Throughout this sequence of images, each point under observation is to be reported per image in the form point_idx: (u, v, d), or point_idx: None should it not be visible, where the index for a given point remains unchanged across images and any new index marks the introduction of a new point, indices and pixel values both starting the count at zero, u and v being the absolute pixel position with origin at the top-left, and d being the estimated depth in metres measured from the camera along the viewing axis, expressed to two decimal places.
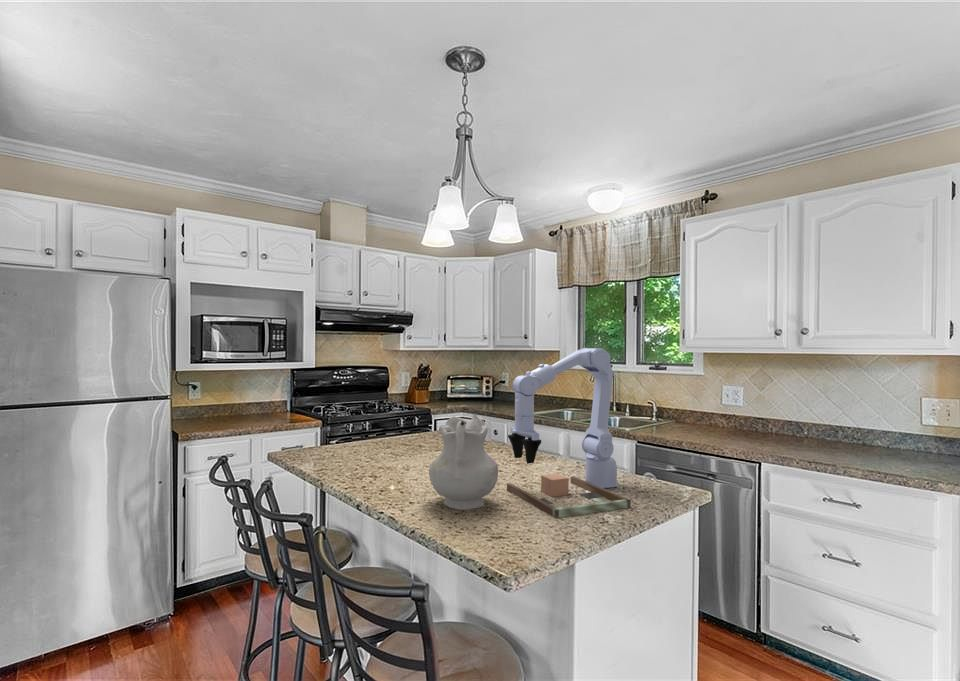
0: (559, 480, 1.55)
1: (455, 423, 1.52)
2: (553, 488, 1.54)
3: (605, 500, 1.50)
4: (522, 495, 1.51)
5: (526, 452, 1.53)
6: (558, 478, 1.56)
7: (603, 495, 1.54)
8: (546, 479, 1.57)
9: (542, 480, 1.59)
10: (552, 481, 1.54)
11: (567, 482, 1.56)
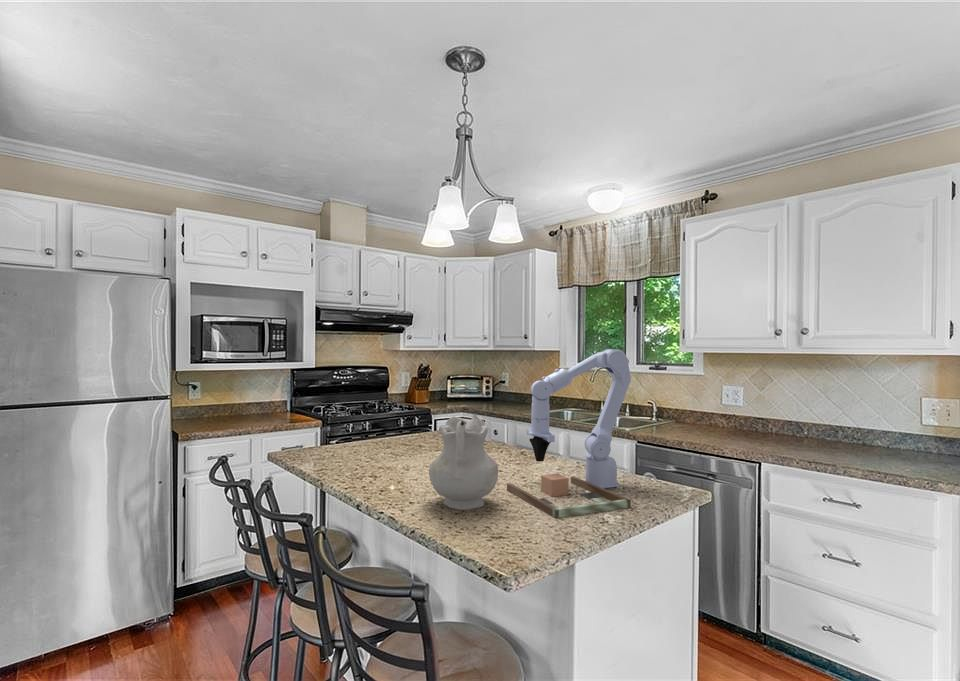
0: (559, 480, 1.55)
1: (455, 423, 1.52)
2: (553, 488, 1.54)
3: (605, 500, 1.50)
4: (522, 495, 1.51)
5: (536, 451, 1.65)
6: (558, 478, 1.56)
7: (603, 495, 1.54)
8: (546, 479, 1.57)
9: (542, 480, 1.59)
10: (552, 481, 1.54)
11: (567, 482, 1.56)
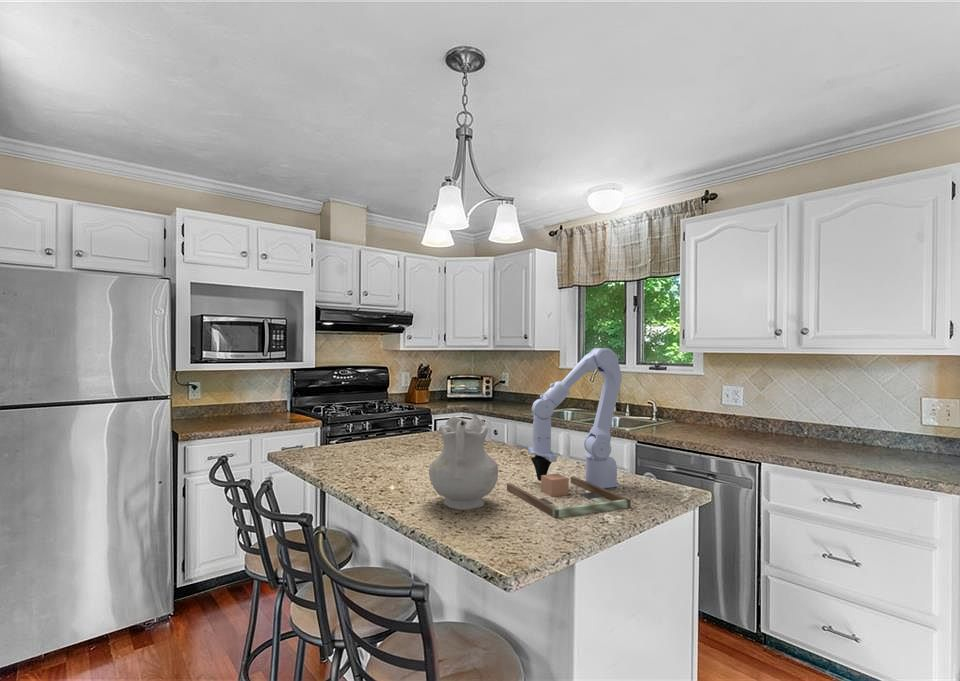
0: (559, 480, 1.55)
1: (455, 423, 1.52)
2: (553, 488, 1.54)
3: (605, 500, 1.50)
4: (522, 495, 1.51)
5: (538, 470, 1.64)
6: (558, 478, 1.56)
7: (603, 495, 1.54)
8: (546, 479, 1.57)
9: (542, 480, 1.59)
10: (552, 481, 1.54)
11: (567, 482, 1.56)
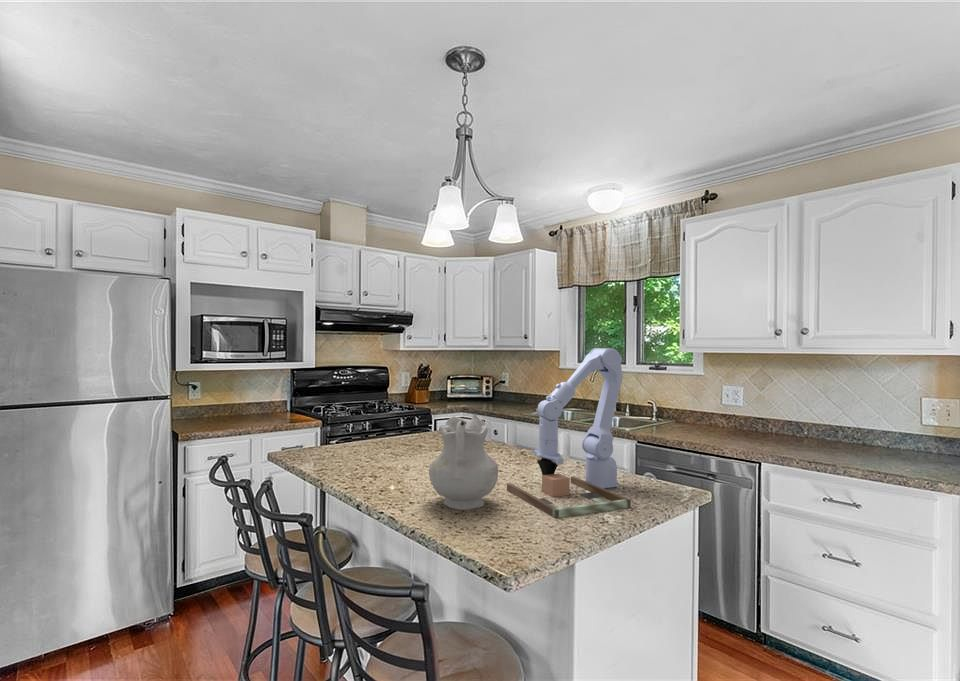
0: (560, 480, 1.55)
1: (455, 423, 1.52)
2: (555, 488, 1.54)
3: (605, 500, 1.50)
4: (522, 495, 1.51)
5: (544, 473, 1.60)
6: (559, 478, 1.56)
7: (603, 495, 1.54)
8: (547, 479, 1.56)
9: (543, 480, 1.58)
10: (553, 481, 1.54)
11: (568, 482, 1.56)
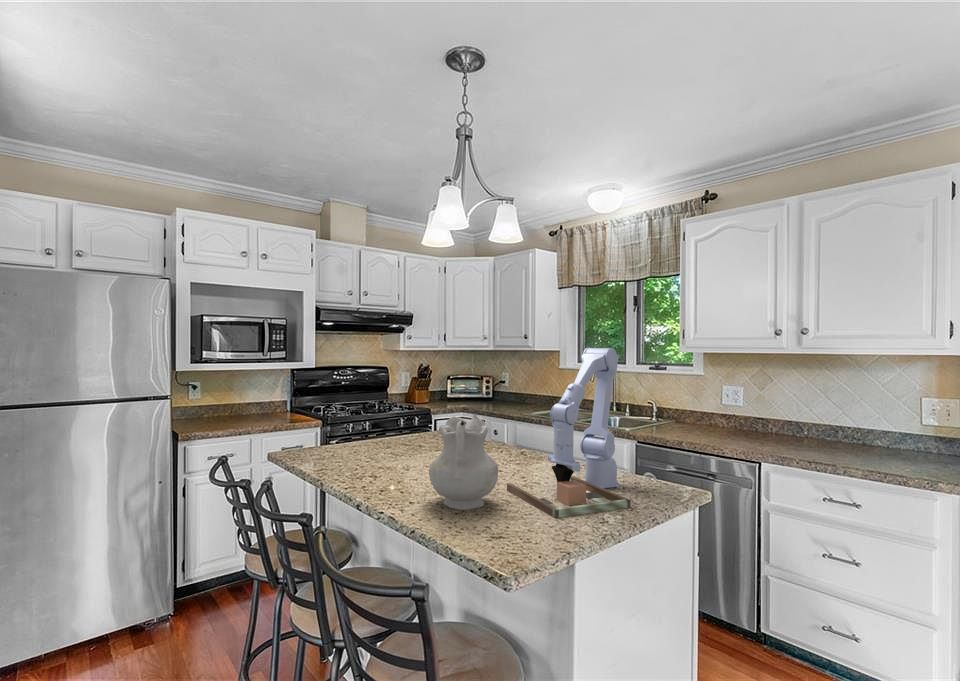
0: (576, 487, 1.47)
1: (455, 423, 1.52)
2: (570, 496, 1.46)
3: (605, 500, 1.50)
4: (522, 495, 1.51)
5: (559, 480, 1.52)
6: (575, 485, 1.48)
7: (603, 495, 1.54)
8: (562, 486, 1.48)
9: (558, 487, 1.50)
10: (569, 489, 1.46)
11: (585, 489, 1.48)
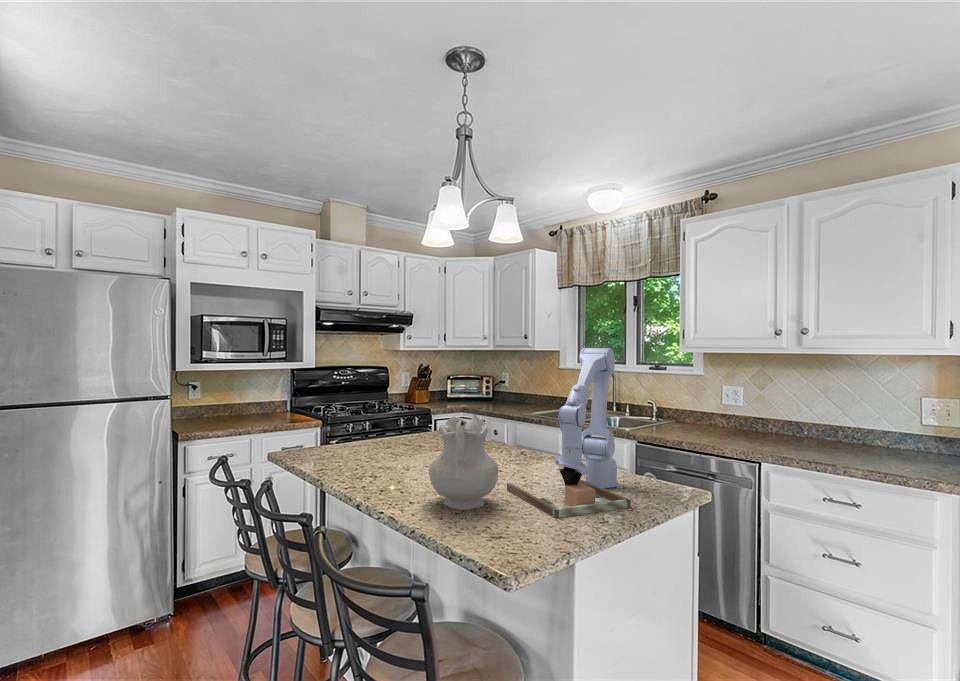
0: (585, 491, 1.43)
1: (455, 423, 1.52)
2: (579, 500, 1.42)
3: (605, 500, 1.50)
4: (522, 495, 1.51)
5: (568, 483, 1.48)
6: (584, 489, 1.44)
7: (603, 495, 1.54)
8: (571, 490, 1.44)
9: (566, 491, 1.46)
10: (578, 493, 1.42)
11: (594, 494, 1.44)
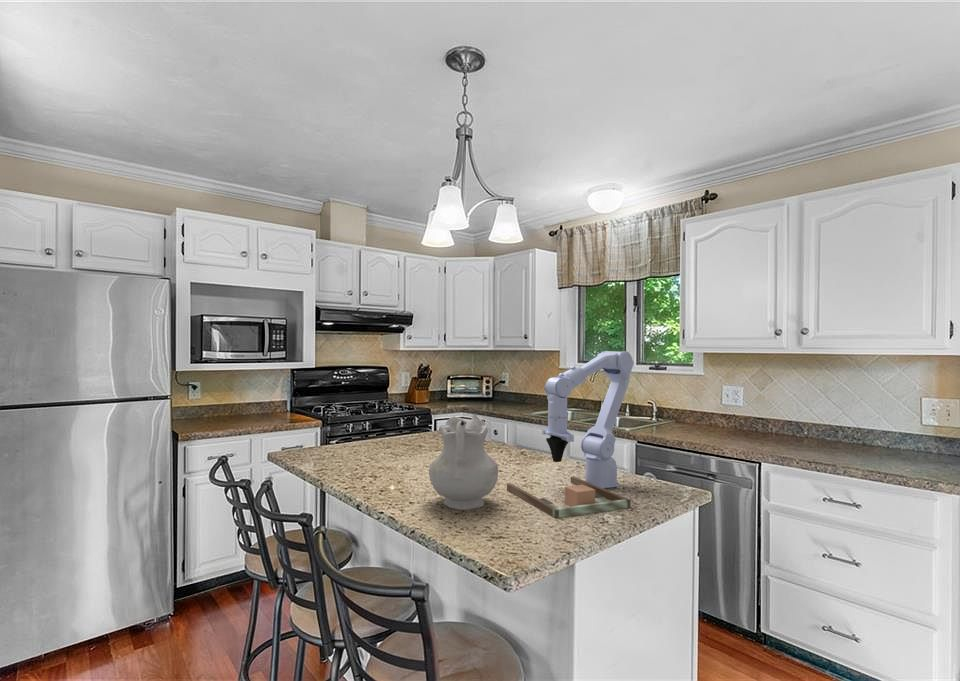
0: (585, 492, 1.43)
1: (455, 423, 1.52)
2: (579, 500, 1.42)
3: (605, 500, 1.50)
4: (522, 495, 1.51)
5: (554, 451, 1.57)
6: (584, 490, 1.44)
7: (603, 495, 1.54)
8: (571, 491, 1.44)
9: (566, 492, 1.46)
10: (578, 493, 1.42)
11: (594, 494, 1.44)
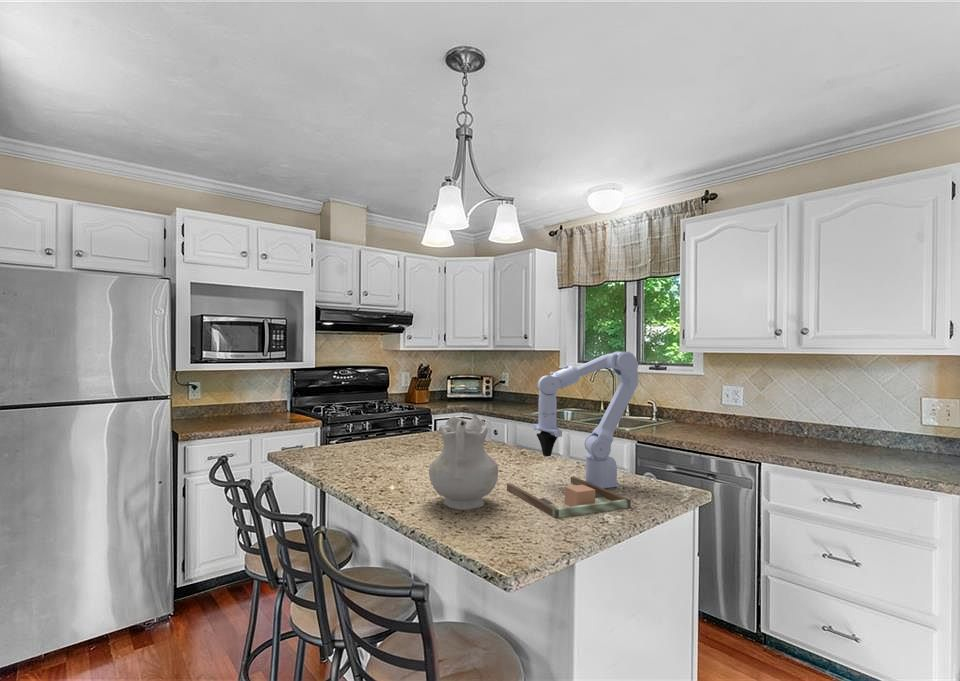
0: (585, 492, 1.43)
1: (455, 423, 1.52)
2: (579, 500, 1.42)
3: (605, 500, 1.50)
4: (522, 495, 1.51)
5: (544, 446, 1.65)
6: (584, 490, 1.44)
7: (603, 495, 1.54)
8: (571, 491, 1.44)
9: (566, 492, 1.46)
10: (578, 493, 1.42)
11: (594, 494, 1.44)
